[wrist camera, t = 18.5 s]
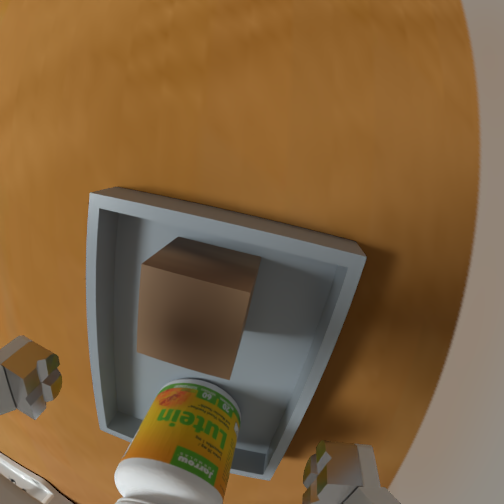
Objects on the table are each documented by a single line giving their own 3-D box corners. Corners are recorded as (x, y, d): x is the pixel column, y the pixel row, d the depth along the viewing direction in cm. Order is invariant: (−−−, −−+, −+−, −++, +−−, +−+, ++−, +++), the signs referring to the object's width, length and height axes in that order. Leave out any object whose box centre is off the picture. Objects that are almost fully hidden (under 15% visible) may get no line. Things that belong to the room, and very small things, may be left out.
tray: (114, 408, 20) (100, 429, 17) (116, 186, 15) (89, 192, 13) (272, 454, 19) (269, 480, 17) (355, 241, 14) (366, 256, 12)
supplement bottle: (252, 391, 17) (220, 545, 8) (232, 443, 18) (201, 567, 9) (161, 363, 17) (83, 496, 8) (156, 419, 19) (100, 532, 9)
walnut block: (168, 310, 16) (136, 352, 12) (178, 236, 15) (141, 263, 11) (244, 330, 16) (229, 380, 12) (261, 257, 14) (250, 292, 11)
